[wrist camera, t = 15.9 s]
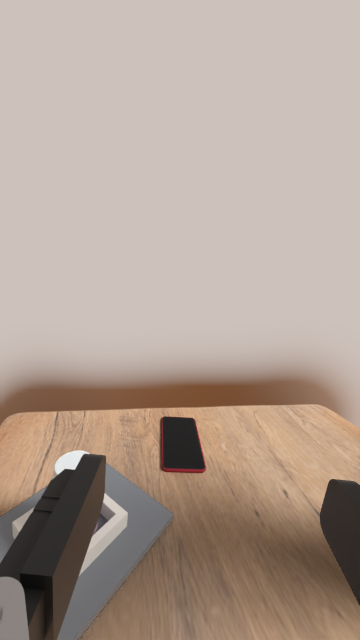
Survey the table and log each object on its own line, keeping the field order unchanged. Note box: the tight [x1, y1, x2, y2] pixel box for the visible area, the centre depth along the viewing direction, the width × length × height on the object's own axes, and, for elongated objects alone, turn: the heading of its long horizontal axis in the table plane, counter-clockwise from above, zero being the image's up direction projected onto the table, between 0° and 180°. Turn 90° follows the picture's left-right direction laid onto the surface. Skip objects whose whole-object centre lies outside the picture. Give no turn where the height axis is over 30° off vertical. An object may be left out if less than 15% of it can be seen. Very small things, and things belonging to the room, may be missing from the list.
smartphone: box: [162, 417, 206, 473], centre depth 49 cm, size 7×1×15 cm
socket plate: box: [0, 463, 173, 640], centre depth 30 cm, size 19×16×3 cm
